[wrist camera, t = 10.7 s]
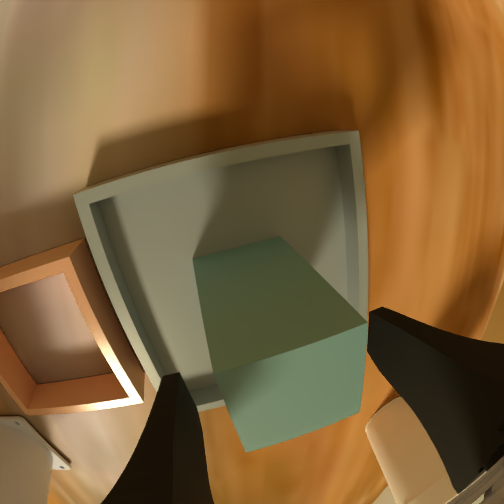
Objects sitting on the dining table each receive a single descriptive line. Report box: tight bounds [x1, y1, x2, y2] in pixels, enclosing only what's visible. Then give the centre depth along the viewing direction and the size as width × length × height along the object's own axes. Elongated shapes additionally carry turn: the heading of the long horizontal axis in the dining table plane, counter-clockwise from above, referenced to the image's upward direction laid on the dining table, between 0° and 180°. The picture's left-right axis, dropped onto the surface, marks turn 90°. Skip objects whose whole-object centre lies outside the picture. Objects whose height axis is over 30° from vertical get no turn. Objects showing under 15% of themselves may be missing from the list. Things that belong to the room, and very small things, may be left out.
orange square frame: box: [0, 239, 145, 416], centre depth 14 cm, size 9×9×2 cm
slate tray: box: [73, 130, 368, 412], centre depth 16 cm, size 13×14×2 cm
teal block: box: [192, 236, 368, 452], centre depth 12 cm, size 4×4×8 cm
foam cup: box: [365, 396, 487, 504], centre depth 21 cm, size 10×9×13 cm
